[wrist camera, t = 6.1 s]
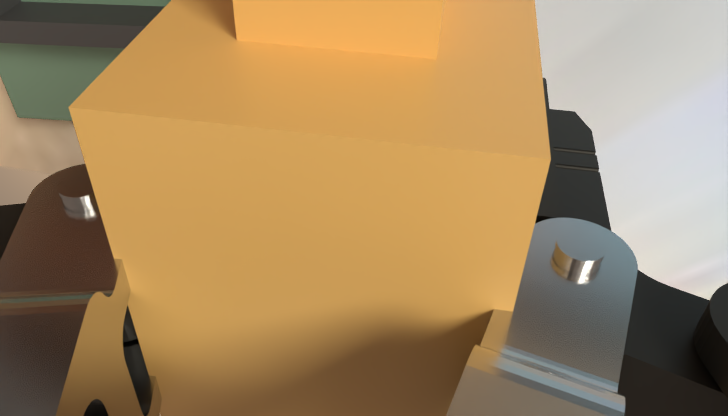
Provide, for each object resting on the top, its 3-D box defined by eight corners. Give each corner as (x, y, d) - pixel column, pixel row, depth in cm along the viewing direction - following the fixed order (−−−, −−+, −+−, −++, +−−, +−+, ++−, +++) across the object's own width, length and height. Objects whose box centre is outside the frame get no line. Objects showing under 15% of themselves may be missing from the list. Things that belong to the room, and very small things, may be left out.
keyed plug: (297, 245, 16) (197, 536, 11) (274, -181, 10) (33, -8, 5) (463, 266, 16) (445, 580, 10) (536, -166, 10) (581, 39, 5)
